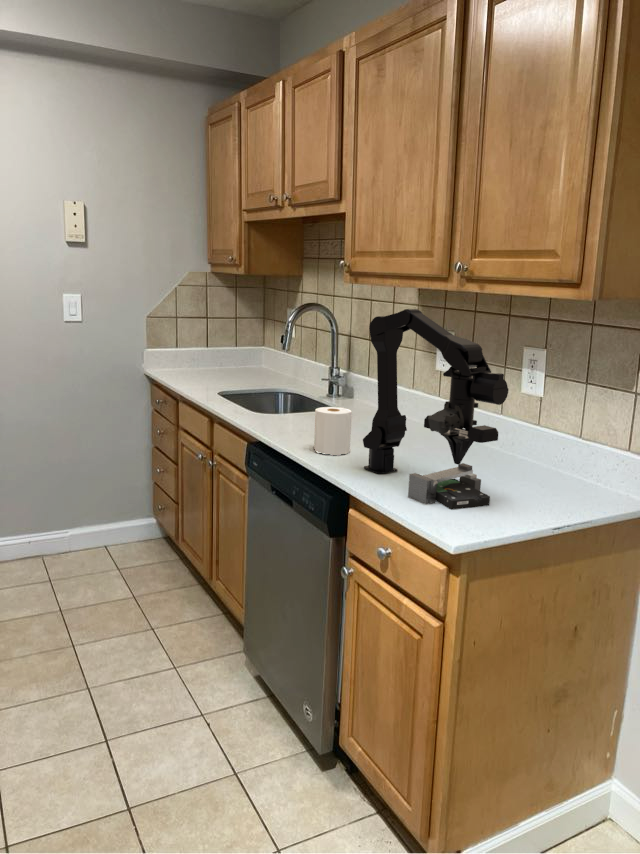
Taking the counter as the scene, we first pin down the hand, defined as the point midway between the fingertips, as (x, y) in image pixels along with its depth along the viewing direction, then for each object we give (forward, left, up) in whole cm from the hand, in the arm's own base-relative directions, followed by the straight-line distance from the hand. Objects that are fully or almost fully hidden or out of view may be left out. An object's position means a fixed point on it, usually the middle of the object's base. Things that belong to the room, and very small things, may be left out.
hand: (457, 463), depth 166 cm
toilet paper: (-46, -3, -7) cm, 47 cm away
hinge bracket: (0, -11, -7) cm, 13 cm away
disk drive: (+2, -3, -8) cm, 9 cm away
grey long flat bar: (0, -3, -3) cm, 4 cm away
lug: (0, +5, -7) cm, 9 cm away
